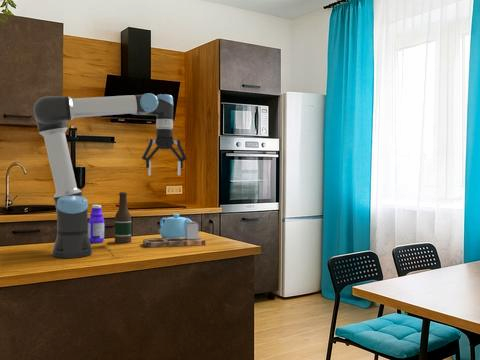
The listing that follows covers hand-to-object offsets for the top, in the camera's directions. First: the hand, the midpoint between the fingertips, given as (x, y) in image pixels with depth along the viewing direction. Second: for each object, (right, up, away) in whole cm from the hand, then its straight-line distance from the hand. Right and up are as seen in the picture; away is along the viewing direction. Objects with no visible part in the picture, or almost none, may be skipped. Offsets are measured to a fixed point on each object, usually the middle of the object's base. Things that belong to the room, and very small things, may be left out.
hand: (164, 175), depth 221 cm
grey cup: (+13, -31, -3) cm, 33 cm away
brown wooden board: (+5, -32, -5) cm, 33 cm away
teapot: (+4, -31, +18) cm, 36 cm away
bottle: (-33, -31, +5) cm, 46 cm away
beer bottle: (-19, -32, -1) cm, 37 cm away
